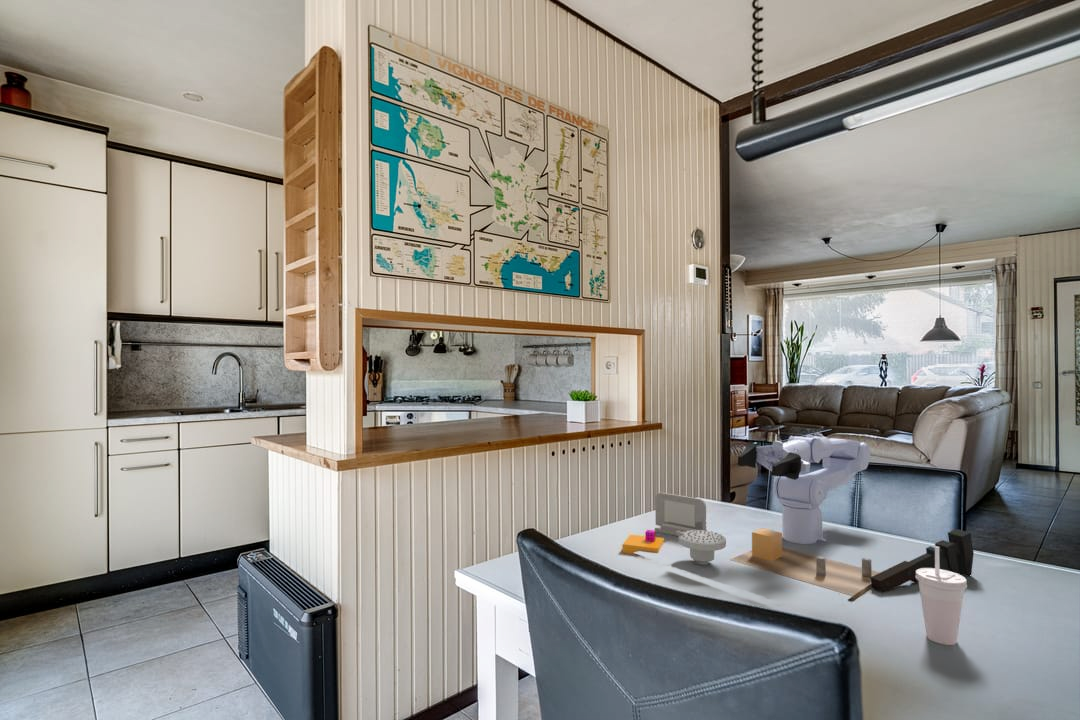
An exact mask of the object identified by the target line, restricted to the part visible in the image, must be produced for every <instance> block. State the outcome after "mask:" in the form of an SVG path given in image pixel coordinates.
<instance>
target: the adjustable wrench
mask: <svg viewBox="0 0 1080 720" xmlns="http://www.w3.org/2000/svg"><path fill="white" fill-rule="evenodd" d="M947 536H948V537H947V538H948V541H947V540H944V539H942V540H939V541H938V542H935V543H934V545H935V546H938V547H939V569H942V570H947V571H951V572H954V573H957V574H959V573H960V574H959V575H962V574H964V575H963V576H965V575H967V576H966V577H968V576H969V577H971V576H972V573H973V562H974V554H975V553H974V547H973V541H972V540H973V539H972V534H971V531H965V530H962V529H957V528H955V529H952V530H951V531H949V532H947ZM935 546H927V547H926V548H925V551H926V553H924V554H921V555H919V556H917V557H915V558H914V559H911V560H909V561H907V560H903V561H901V562H900V563H898V564H895V565H893V566H891V567H889V568H887V569H885V570H882V571H881V573H878V574H876V575H874V576H872V577H871V583H872V589H871V590H874V591H877V592H879V593H887V592H890V591H892V590H894V589H896V588H897V587H900V586H901V585H904V584H906V583H908V582H913V583H915V584H917V583H919V581H918V580H917V579H916V570H918V569H921V568H935ZM970 575H971V576H970Z"/></svg>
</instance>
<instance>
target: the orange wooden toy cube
mask: <svg viewBox="0 0 1080 720" xmlns="http://www.w3.org/2000/svg"><path fill="white" fill-rule="evenodd" d="M782 547H783V532H779V531H775V530H771V529H766V528H763V527H762V528H760V529H757V530H754V531H752V532H751V550H752V556H755V557H759V558H762V559H766V560H769V561H773V560H776V559H778V558H780V557H782Z"/></svg>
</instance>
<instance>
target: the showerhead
mask: <svg viewBox="0 0 1080 720" xmlns="http://www.w3.org/2000/svg"><path fill="white" fill-rule="evenodd" d="M676 534H678V535H679V537H678V544H679V545H680V546H683V547H684V548H687V549H689V557H690V558H691V559H692V560H693V561H696V563H697V564H699V565H707V564H708V563H709V562H713V560H715V551H721V550H723V549H725V548H726V547H727V538H726V537H725V536H724V535H722V534H721V533H718V532H714V531H712V530H708V529H706V530H705V531H703V530H695V529H694V530H689V531H684V532H680V531H676Z"/></svg>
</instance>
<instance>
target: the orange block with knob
mask: <svg viewBox="0 0 1080 720" xmlns="http://www.w3.org/2000/svg"><path fill="white" fill-rule="evenodd" d="M644 533H645V535H640V534H639V535H638V534H629V535H628V537H627V538H626V539H625V541H624V542H623V543H622V544H621V545H622V547H621V548H622V551H621V552H622V553H625V554H630V555H632V554H633V555H636V552H639V551H644V552H652V553H659V552H660V551H661V548H662V547H663V545H664V543H665V537H657V532H656V531H655V529H653V530H652V529H646V531H645V532H644Z"/></svg>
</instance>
